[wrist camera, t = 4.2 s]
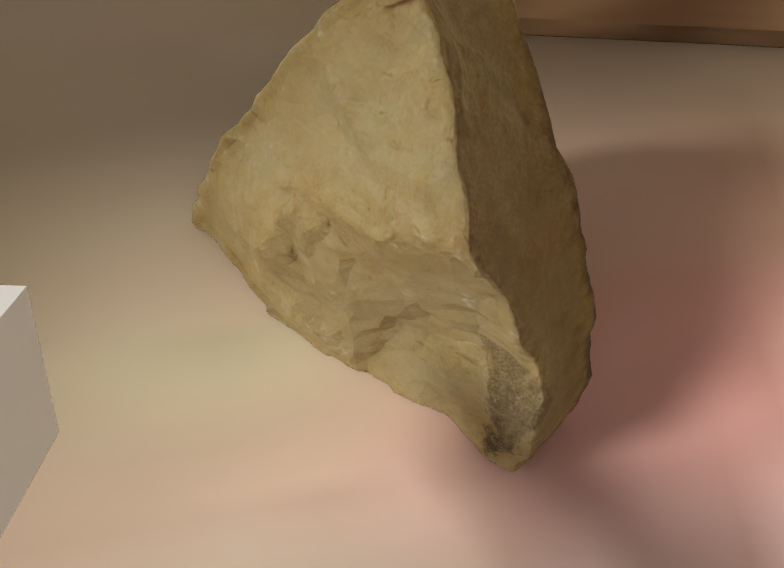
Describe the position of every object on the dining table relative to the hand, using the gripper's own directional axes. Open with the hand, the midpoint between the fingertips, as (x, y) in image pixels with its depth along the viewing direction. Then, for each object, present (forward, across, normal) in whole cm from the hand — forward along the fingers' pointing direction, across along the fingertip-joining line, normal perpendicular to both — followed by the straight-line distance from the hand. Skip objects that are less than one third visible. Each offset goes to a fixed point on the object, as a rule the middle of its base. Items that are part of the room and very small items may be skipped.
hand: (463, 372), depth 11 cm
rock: (+8, -1, -4) cm, 9 cm away
